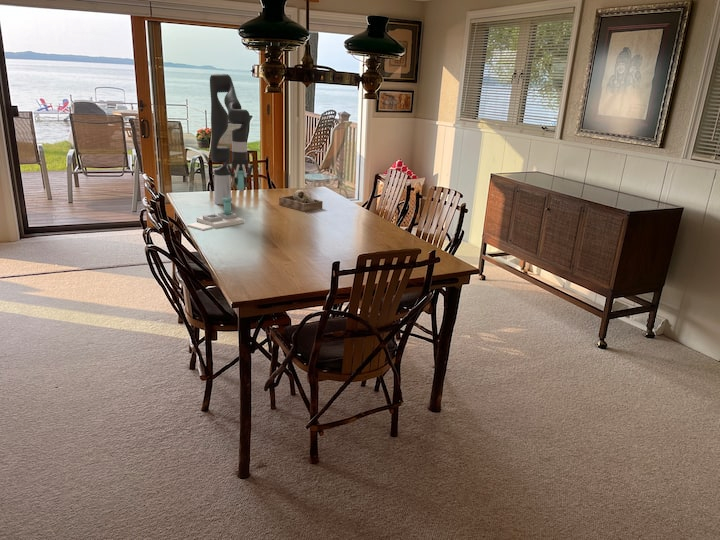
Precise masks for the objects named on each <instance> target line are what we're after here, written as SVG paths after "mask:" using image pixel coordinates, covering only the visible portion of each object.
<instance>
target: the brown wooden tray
mask: <svg viewBox="0 0 720 540" xmlns="http://www.w3.org/2000/svg"><path fill="white" fill-rule="evenodd" d="M293 195H294V194H291V195H287V196H281V197H278V200H279V201H278V203H279V206H282V207H283V206H284V207H286V208H289V207H290V209H294V210H296V209H297V211H301V212H305V213H306V212H310V211H311V212H312V211H317V210H323V200H319V199H315V198H313V200H314V201H315V202H312V203H306V204H305V203H301V202H297V201H294V200H295V199H294V198H293Z"/></svg>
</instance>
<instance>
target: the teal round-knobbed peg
mask: <svg viewBox="0 0 720 540" xmlns="http://www.w3.org/2000/svg"><path fill="white" fill-rule="evenodd" d="M234 170H235V169H234ZM245 170H246V169H245ZM245 170H244V171H245ZM235 171H236V170H235ZM244 171H243V170H238V174H237V182H238V185H237V188H236V190H237V191H244V190H245V188H244Z"/></svg>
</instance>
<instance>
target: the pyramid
mask: <svg viewBox="0 0 720 540" xmlns="http://www.w3.org/2000/svg"><path fill="white" fill-rule="evenodd" d="M249 186H250V185H249V183H248V182H247V183H246V184H245V185H244V189H245V188H249ZM231 188H236V189H237V185H236V184H235V183H234V177H233V176H232V179H231Z"/></svg>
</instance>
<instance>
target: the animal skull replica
mask: <svg viewBox="0 0 720 540" xmlns="http://www.w3.org/2000/svg"><path fill="white" fill-rule="evenodd" d="M292 195H293V198H294V199H295V200H294V201H297V202H301V203H305V204H306V203H312V202H315V201H314V200H313V199H314V198H313V197H312V194H311V192H309V191H308V190H304V189H298V190H296V191H294V193H293V194H292Z"/></svg>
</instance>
